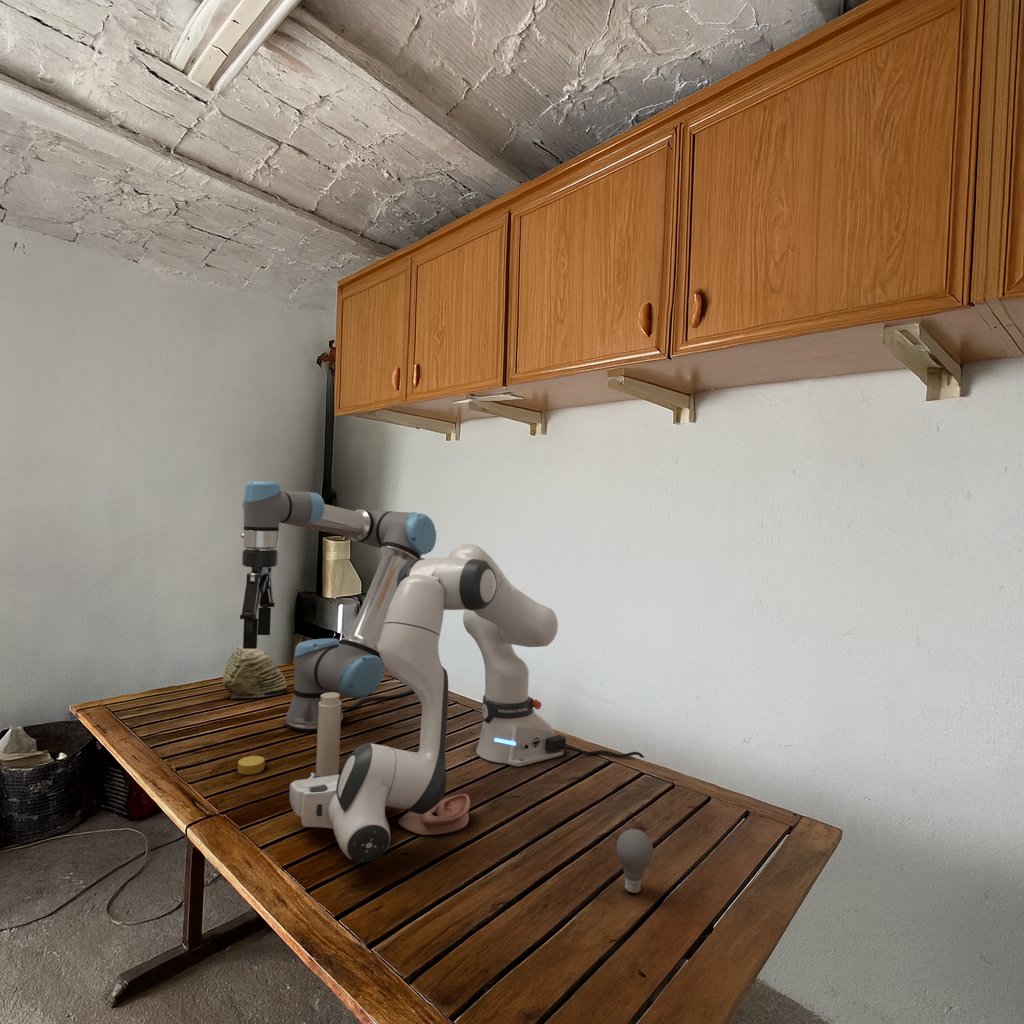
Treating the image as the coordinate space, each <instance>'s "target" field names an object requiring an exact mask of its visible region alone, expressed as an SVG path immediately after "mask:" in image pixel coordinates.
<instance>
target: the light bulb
mask: <svg viewBox="0 0 1024 1024" xmlns="http://www.w3.org/2000/svg"><path fill="white" fill-rule="evenodd" d="M615 849H616V854H617V857H618V859H619V861H620V863H621V865H622V867H623V873H624V874H623V875H624V876H625V878H624V888H625V890H627V891H628V892H630V893H634V894H635V893H639V892H640V891H641V889H642V887H641V886H642V879H643V877H644V875H645V871H646V868H647V867H648V866H649V864H650V863H651V861H652V859H653V855H654V847H653V843H652V841H651V838H649V836H648V835H647V834H646V833H645V832H643V831H642V830H641V829H636V828H629V829H627V830H625V831H623V832H622V833H621V834H620V835H619V837H618V839H617V841H616V847H615Z"/></svg>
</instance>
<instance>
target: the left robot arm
mask: <svg viewBox="0 0 1024 1024" xmlns="http://www.w3.org/2000/svg"><path fill="white" fill-rule="evenodd" d="M242 510H243V533H241V534H240V538H241V539H242V541H243V542H242V546H243V547H244V548H245V549H243V550H242V556H241V557H242V559H241V560H242V561H241V565H242V566H244V567H246V568H251V570H250V572H247V573H246V582H245V590H244V598H243V602H242V603H243V604H242V610H241V614H240V615H239V619H240V620H243V635H242V636H243V637H242V647H243V649H257V648H258V636H271V623H272V622H271V620H272V608H274V607H275V605H276V603H275V602H274V595H273V594H274V593H273V579H272V571H273V570H272V567H273V568H274V567H276V566H277V565H278V560H279V559H278V558H279V551H278V550H277V549H278V547H279V544H280V543H279V541H280V540H279V537H280V524H284V525H288V526H289V525H290V526H295V527H299V528H304V529H309V530H314V531H318V532H319V531H320V532H325V533H330V534H334V535H340V536H345V537H348V538H349V539H350V540H351V541H353V542H356V543H361V544H365V545H368V546H371V547H375V548H377V549H380V551H381V553H382V557H381V560H380V562H379V565H378V567H377V569H376V572H375V574H374V576H373V579H372V581H371V584H370V586H369V588H368V591H367V592H366V595H365V597H364V600H363V602H362V603H361V604H362V605H361V607H360V609H359V612H358V614H357V616H356V619H355V621H354V624H353V625H352V628H351V630H350V633H349V634H348V635H346V636H344V637H342V638H341V640H340V641H339V639H338V638H331V637H329V638H317V639H316V638H315V639H308V640H304V641H301V642H299V643H298V644H297V645H296V646H295V652H294V656H293V658H294V670H293V671H294V672H293V695H292V696H293V697H292V699H291V702H290V704H289V708H288V711H287V713H286V715H285V726H286V728H287V729H289V730H291V731H294V732H295V731H296V732H301V733H317V730H318V704H319V702H320V701H321V697H320V696H321V695H322V694H324V693H328V692H335V693H339V694H340V696H342V697H345V698H348V699H357V700H358V699H359V700H358V701H356V702H355V703H354V704H352V705H348V706H347V705H341V724H342V723H343V722H344V714H343V711H344V710H353V709H355V708H356V707H358V706H359V705H361V704H362V703H366V702H368V701H369V702H370V701H377V700H389V699H397V698H401V697H404V696H408V695H410V694H412V693H415V692H414V691H413V690H412V689H409V690H408V691H405V692H401V693H396V694H390V695H377V696H369V695H372V694H373V693H374V692H375V691H376V690H377V689H378V687H379V686H380V684H381V682H382V680H383V677H384V672H385V670H384V669H383V668H384V663H383V662H382V660H381V657H380V653H379V644H380V638H381V633H382V629H383V625H384V622H385V618H386V615H387V612H388V609H389V606H390V604H391V601H392V599H393V596H394V594H395V592H396V590H397V577H398V574H399V571H400V570H401V568H402V567H403V566H404V564H405V563H406V562H408V561H410V560H413V559H418V558H422V556H424V555H427V554H429V553H431V552H432V551H433V549H434V548H435V545H436V541H437V530H436V527H435V522H433V520H432V518H431V517H430V516H428V515H427V514H425V513H419V512H416V511H412V512H411V511H410V512H405V511H392V510H366V509H361V508H359V509H356V510H352V509H347V508H343V507H339V506H335V505H330V504H327V503H325V501H324V498H323V497H322V496H321V494H319V493H317V492H310V491H294V490H292V491H291V490H282V489H281V484H280V483H279V482H278V481H277V482H276V481H260V480H259V481H258V480H256V481H255V480H250V481H248V482H247V483H246V484H245V489H244V497H243V501H242ZM368 696H369V697H368Z"/></svg>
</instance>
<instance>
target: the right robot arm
mask: <svg viewBox="0 0 1024 1024" xmlns="http://www.w3.org/2000/svg"><path fill="white" fill-rule="evenodd" d="M445 611H463V614H462V622H463V626H464V629H465V631H466V632H467V633H468V635H470V636H471V637H472V639H473V641H475V643H476V645H477V647H478V650H479V651H480V653H481V656H482V660H483V664H484V682H485V683H484V687H485V688H484V695H483V696H482V706H481V715H482V717H481V718H482V725H481V730H480V734H479V739H478V743H477V746H476V749H475V752H476V754H477V756H479V757H480V758H482V759H484V760H486V761H489V762H492V763H499V764H506V765H510V766H513V767H523V766H527V765H532V764H535V763H538V762H542V761H543V762H544V761H547V760H549V759H553V758H557V757H561V756H563V755H564V753H565V752H564V750H568V751H572V752H576V753H578V754H583V755H590V756H591V755H598V754H605V755H610V756H614V757H618V758H628V757H632V756H638V757H640V758H642V759H643V758H645V756H644V754H642V753H641V752H639V751H631V752H628V753H616V752H613V751H609V750H603V749H601V750H600V749H599V750H593V751H586V750H581V749H578V748H575V747H570V746H567V737H565V736H563V735H561V734H558V735H555V731H554V729H553V726H552V725H551V724H550V722H548V720H546V719H544V718H543V717H542V716H541V715H540V714H539V713H537V712H536V711H535V710H540V709H541V708H542V706H543V705H542V702H541V701H539V700H538V699H534V698H533V697H531V696H529V686H530V685H529V684H530V683H529V682H530V670H529V667H528V665H527V663H526V662H525V660H523V659H522V658H521V657H519V655H518V654H517V653H516V652H515V650H514V647H513V646H520V647H525V648H543V647H548V646H549V645H550V644H551V643H552V642H553V641H554V640H555V638H556V637H557V634H558V632H559V620H558V617H557V615H556V612H555V611H554V610H553V608H550V607H548V606H546V605H544V604H542V603H539V602H538V601H535V600H534V599H533V598H532V597H529V596H528V595H527V594H526V593H524V592H523V591H522V590H520V589H519V588H517V587H516V586H514V585H513V584H512V583H511V582H510V580H509V579H508V577H507V576H506V575H505V573H504V572H503V571H502V569H501V567H500V566H499V565H498V564H497V562H496V561H495V560H494V558H492V556H491V555H489V553H487V552H486V551H485V550H484V549H483V548H482V547H480V546H478V544H473V543H464V544H461V545H459V546H457V547H455V548H454V549H453V550H452V551H451V553H449V555H448V556H446V557H431V558H424V557H421V558H418V559H413V560H410V561H408V562H406V563H405V564H404V566H403V567H402V568H401V570H400V571H399V574H398V577H397V590H396V592H395V594H394V596H393V599H392V601H391V604H390V606H389V609H388V612H387V615H386V618H385V622H384V625H383V629H382V633H381V638H380V644H379V653H380V657H381V658H380V660H381V661H382V663H383V666H384V667H385V668H386V669H387V671H388V672H389V673H390V674H391V675H392V676H393V677H394V678H396V679H397V680H398V681H400V682H401V683H403V684H404V685H405V686H407V687H408V688H409V690H413V691H414V692H413V693H415V694H414V695H416V696H417V698H418V700H419V702H420V706H421V720H420V721H421V722H420V734H419V748H418V751H417V752H415V751H409V750H404V749H400V748H394V747H391V746H387V745H384V744H383V745H382V744H377V743H372V742H366V743H363V744H361V745H360V746H358V747H357V748H356V749H354V750H353V751H352V752H351V753H350V754H349V755H348V756H347V757H346V759H345V760H344V761H343V764H342V766H341V769H340V770H339V775H331V776H324V777H319V773H318V772H316V771H314V772H310V776H309V777H308V778H303V779H296V780H293V781H292V782H291V783H290V784H289V791H288V792H289V793H288V794H289V795H288V797H289V803H290V806H291V808H292V811H293V812H294V813H295V815H296V816H297V817H300V819H301V825H302V827H303V828H304V827H305V828H324V829H325V828H326V829H331V830H333V834H334V836H335V840H336V842H337V844H338V846H339V848H340V850H341V852H342V853H343V855H345V856H346V857H347V858H348V859H349V860H350V861H353V862H355V863H370V862H373V861H375V860H377V859H379V858H380V857H382V856H383V855H384V854H385V852H386V851H387V850H388V848H389V847H390V843H391V830H390V826H389V825H390V824H389V822H388V819H387V816H386V807H388V808H389V807H390V808H395V809H401V810H403V811H405V812H413V813H417V814H420V815H421V814H424V813H426V812H428V811H430V810H431V809H432V808H434V807H435V806H436V805H437V804H438V803H439V802H440V801H441V800H443V799H444V796H445V792H446V788H447V763H446V747H447V727H448V712H449V711H448V709H449V676H448V671H447V670H446V669H445V668H444V667H443V665H442V662H441V659H440V654H439V653H440V652H439V642H440V637H441V632H442V627H443V621H444V612H445ZM534 709H535V710H534Z"/></svg>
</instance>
